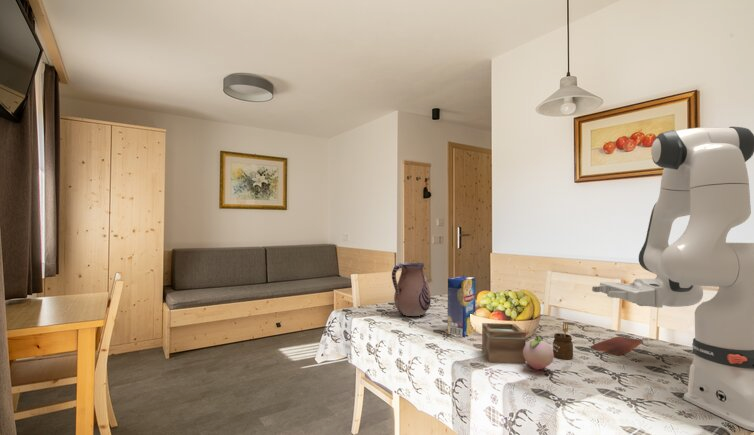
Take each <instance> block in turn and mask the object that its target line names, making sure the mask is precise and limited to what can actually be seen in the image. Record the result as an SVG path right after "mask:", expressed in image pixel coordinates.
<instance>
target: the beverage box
mask: <svg viewBox="0 0 754 435" xmlns="http://www.w3.org/2000/svg"><path fill="white" fill-rule="evenodd" d="M474 312H475V313H476V277H471V276H462V275H461V276H455V277H450V278H447V335H448V334H452V335H456V336H455V337H457V336H461V337H460V338H462V337H464V338H466V337H467V336H466V335H468V334H470V333H472V332H474V331H475V332H476V329H475V330H474V329H473V327H472V325H471V322H470V314H472V313H474ZM475 332H474V333H475ZM472 334H473V333H472ZM452 335H451V336H452ZM470 335H471V334H470ZM465 336H466V337H465ZM468 336H469V335H468Z"/></svg>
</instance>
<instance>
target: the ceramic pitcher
mask: <svg viewBox="0 0 754 435" xmlns="http://www.w3.org/2000/svg"><path fill="white" fill-rule="evenodd" d="M424 266H425V264H424V263H423V262H410V261H409V262H401V263H399V264H396V265H395V266H394V267H393V269H392V272H391V281H392V284H393V287H394V290H395V291H394V296H393V301H394V305H395V307H396V310H397V311H398V312H399V313H400V315H402V314H403V315H402V316H404V315H406V316H405V317H407V316H419V315H422V316H424V315H425V314H426V313H427V311H428V310H429V307H430V306H431V302H432V300H431V298H432V297H431V292H430V288H429V287H430V286H429V283H428V278H427V277H426V274H425V272H424ZM399 269H401V272H400V276H399V278H398V281H397V272H398V270H399ZM419 317H420V316H419Z"/></svg>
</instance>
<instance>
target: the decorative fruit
mask: <svg viewBox="0 0 754 435" xmlns="http://www.w3.org/2000/svg"><path fill="white" fill-rule="evenodd" d="M523 355H524V358H525V360H526V363H527V365H528V366H530V367H531V368H532V369H533V370H535V371H539V370H542V369H544V368H546V367H548V366H550V365H551V364H552V362H553V361H554V358H555V356H554V353H553V347H552V346H551V344H549V343H548V342H547V341H545V340H544V339H543V338H540V337H539V336H538V335H536V337H535V338H533V339H530V340H528V341H527V342H526V345H525V347H524V349H523Z"/></svg>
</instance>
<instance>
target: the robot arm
mask: <svg viewBox="0 0 754 435" xmlns="http://www.w3.org/2000/svg"><path fill="white" fill-rule="evenodd" d="M650 152H651V153H650V155H651V159H652V162H653V163H654V164H655V165H656V166H657V167H660V168H662V169H663V171H662V175H661V180H660V187H659V196H658V198H657V201H656V203H654V205H653V208H652V210H651V214H650V217H649V222H648V227H647V231H646V236H645V241H644V243H643V245H642V247H641V249H640V251H639V254H638V262H639V265H640V266H641V268H642V269H643V270H645V271H648V272H649V273H652V274H655V275H656V277H655V278H635V279H633V281H632V282H630V283H629V284H627V283H623V282H611V281H610V282H609V281H602V282H600V283H599V285H596V286H595V285H594V286H593V285H592V286H591V291H592V292H594V293H603V294H604V295H605V294H606V295H607V297H608V298H610V299H611V298H615V299H620V300H624V301H627V302H630V303H631V304H632V303H633V304H635V305H637V306H639V307H652V308H659V309H660V308H663V306H665V307H669V308H670V307H671V308H672V307H673V308H676V307H677V308H679V307H690V306H695V305H697V304H699V303H700V302H701V301H702V299H703V297H704V290H703V289H704V288H703V287H713V288H715V287H718V290H717V292H716V294H715V295H714V296H712V298H711V299H709V300H707V301H704V302H702V303H700V304H699V305H698V306H697V307H696V308H695V310H694V338H693V339H692V345H691V346H692V353H693V354H694V358H693V360H692V362H691V364H690V367H689V373H688V385H687V392H685V393H683V394H684V395H683V400H684V401H687V402H689V403H691V404H693V405H695V406H697V407H699V408H702V409H703V410H705V411H707V412H709V413H712V414H714V415H716V416H718V417H719V418H722V419H723V420H726V421H728V422H731V423H732V424H734V425H735V426H739V427H740V428H743V429H745V430H748V431H752V432H754V242H727V237H728V234H729V233H730V231H731V229H733V228H735V227H737V226H739V225H741V224H743V223H745V222H747V221H748V220H749V218H750V216H751V213H752V208H751V191H750V180H749V173H748V168H747V164H746V162H748V160H750V159H751V158H752V157H753V156H754V133H753V132H752V131H751V129H749V128H747V127H742V126H728V127H716V126H715V127H702V126H700V127H691V128H685V129H677V130H674V129H672V130H668V131H664V132H661V133H659V134H658V135H657V136H656V137H655V138H654V139H653V142H652V145H651V149H650ZM688 216H689V220H688V223H687V225H686V228H685V230H684V231H683V233H682V234H681V235H680V237H678V239H676V240H675V241H674V242H673V243H672V244H670V245H669V239H670V235H671V230H672V226H673V223H674V221H675V220H676V219H678V218H681V217H688Z"/></svg>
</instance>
